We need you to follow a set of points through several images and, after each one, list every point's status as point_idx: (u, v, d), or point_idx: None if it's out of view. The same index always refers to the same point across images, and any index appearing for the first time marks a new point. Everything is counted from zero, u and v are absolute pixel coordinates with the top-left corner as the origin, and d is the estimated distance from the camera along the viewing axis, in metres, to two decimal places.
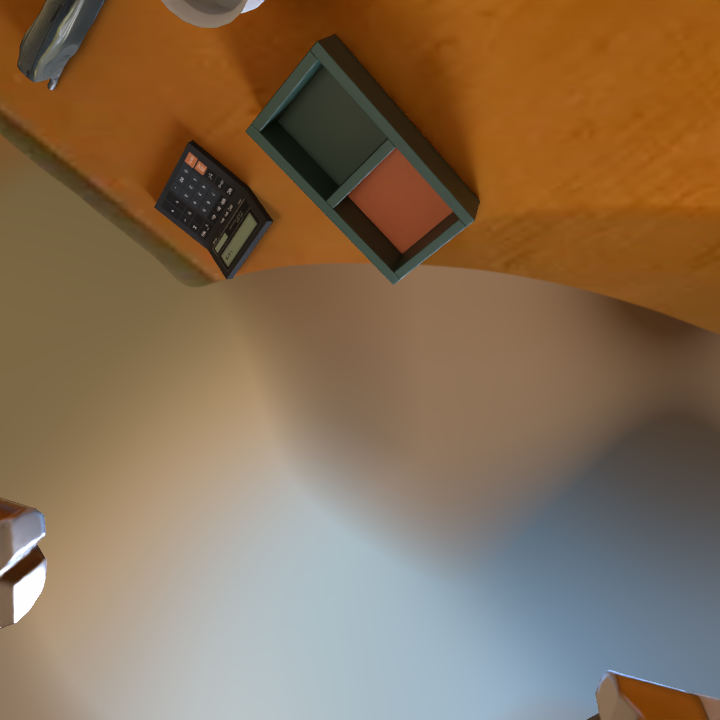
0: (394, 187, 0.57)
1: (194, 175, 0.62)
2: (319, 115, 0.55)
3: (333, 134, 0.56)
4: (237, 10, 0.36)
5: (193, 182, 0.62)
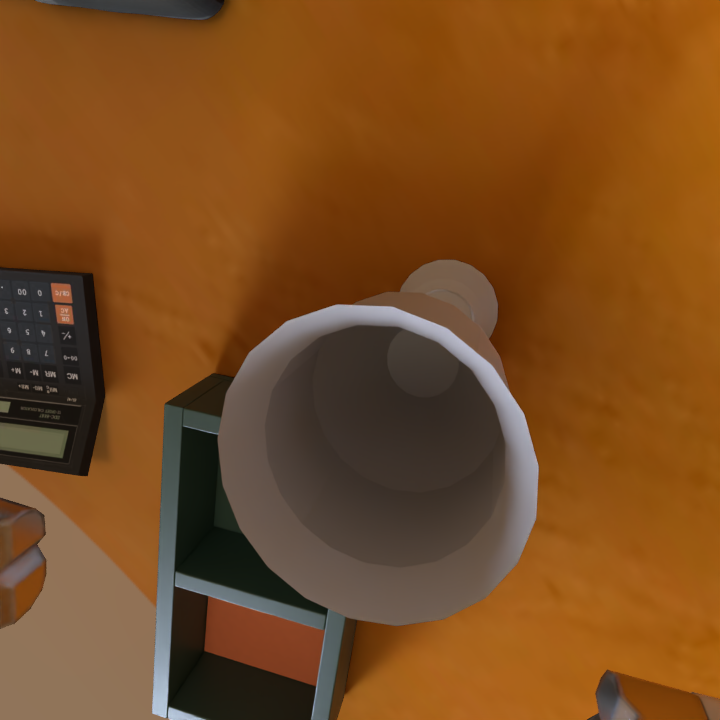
0: None
1: (45, 309, 0.33)
2: None
3: None
4: (340, 589, 0.13)
5: (34, 313, 0.34)
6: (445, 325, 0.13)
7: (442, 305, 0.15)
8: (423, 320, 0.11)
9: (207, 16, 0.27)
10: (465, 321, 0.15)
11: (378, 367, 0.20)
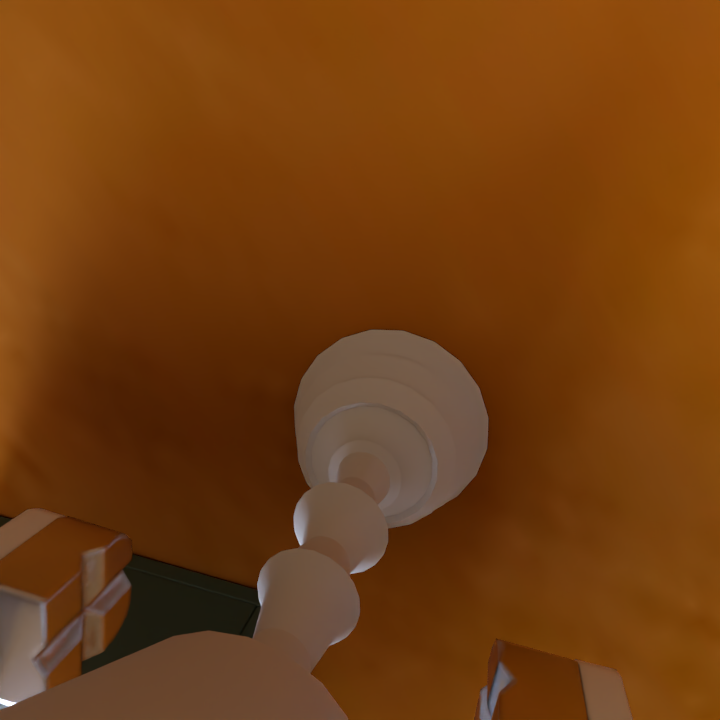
0: None
1: None
2: None
3: None
4: None
5: None
6: None
7: None
8: None
9: None
10: None
11: None
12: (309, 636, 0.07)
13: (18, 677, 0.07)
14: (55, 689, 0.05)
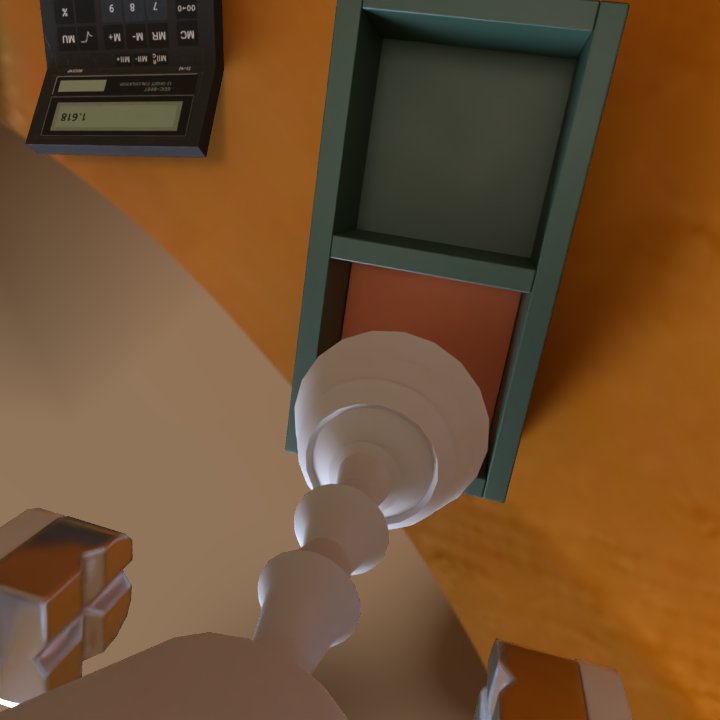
0: (427, 320, 0.29)
1: None
2: (449, 109, 0.26)
3: (435, 158, 0.27)
4: None
5: None
6: None
7: None
8: None
9: None
10: None
11: None
12: (309, 638, 0.07)
13: (18, 677, 0.07)
14: (55, 691, 0.05)
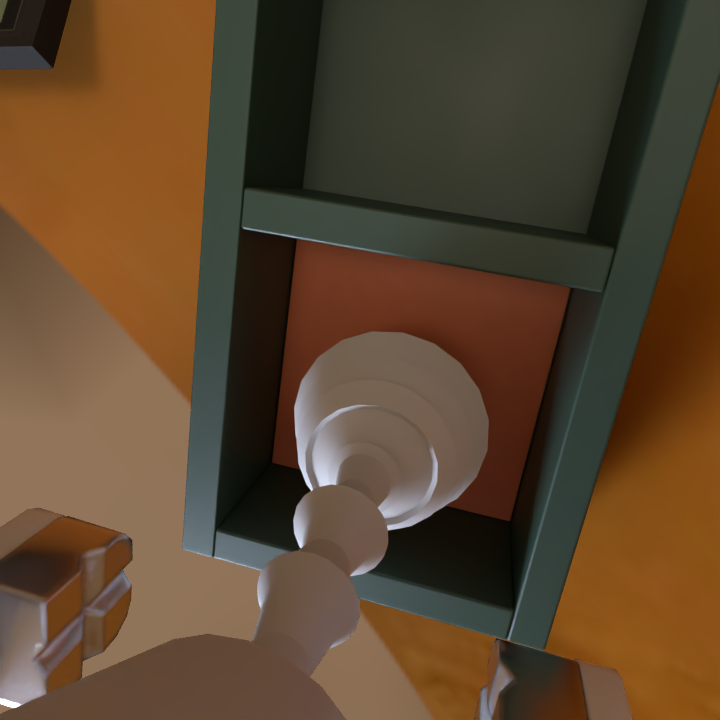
0: (416, 335, 0.18)
1: None
2: None
3: (429, 66, 0.16)
4: None
5: None
6: None
7: None
8: None
9: None
10: None
11: None
12: (309, 639, 0.07)
13: (18, 677, 0.07)
14: (54, 693, 0.05)
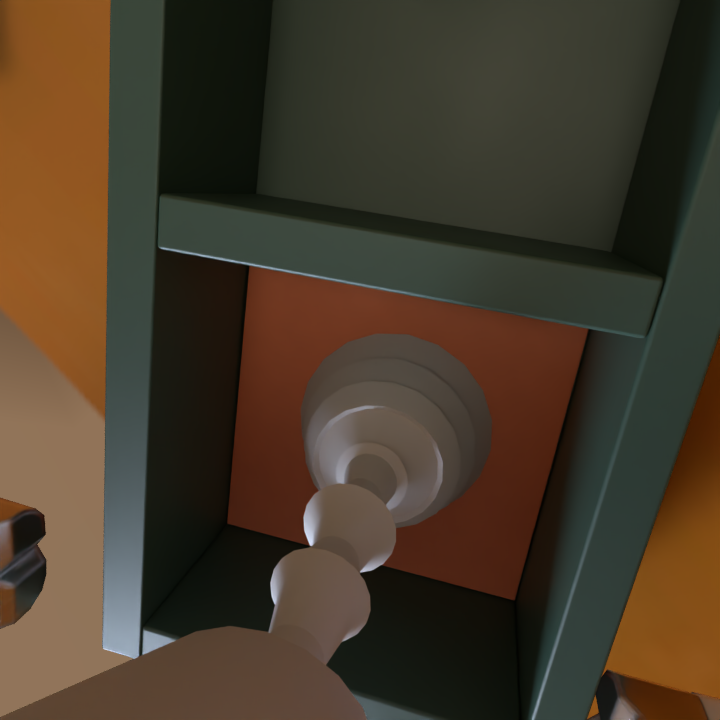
0: None
1: None
2: None
3: (411, 39, 0.13)
4: None
5: None
6: None
7: None
8: None
9: None
10: None
11: None
12: (323, 632, 0.08)
13: None
14: (91, 680, 0.05)
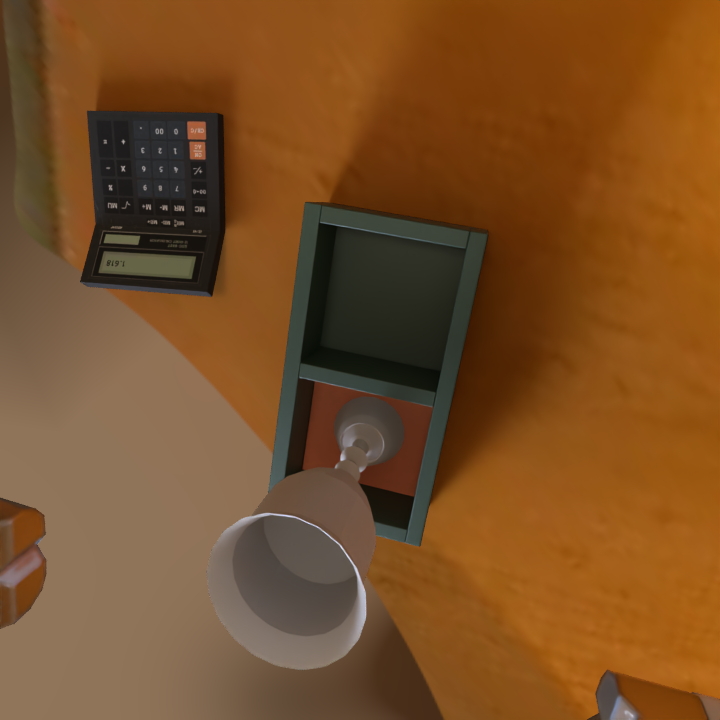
0: None
1: (180, 147, 0.38)
2: (384, 270, 0.38)
3: (375, 301, 0.38)
4: (272, 649, 0.25)
5: (169, 150, 0.38)
6: (329, 507, 0.25)
7: (334, 485, 0.27)
8: (308, 522, 0.23)
9: None
10: (347, 494, 0.27)
11: None
12: None
13: None
14: None
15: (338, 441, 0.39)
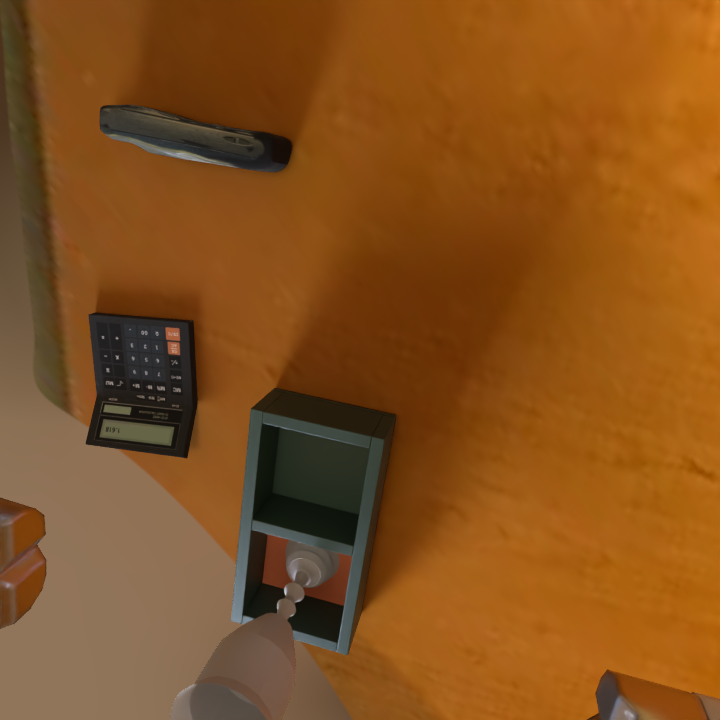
0: None
1: (160, 344, 0.49)
2: (318, 440, 0.49)
3: (313, 462, 0.49)
4: None
5: (152, 347, 0.49)
6: (255, 669, 0.36)
7: (262, 645, 0.38)
8: (235, 690, 0.34)
9: (277, 171, 0.43)
10: (271, 652, 0.38)
11: None
12: (286, 614, 0.44)
13: None
14: (256, 618, 0.41)
15: (286, 569, 0.50)
